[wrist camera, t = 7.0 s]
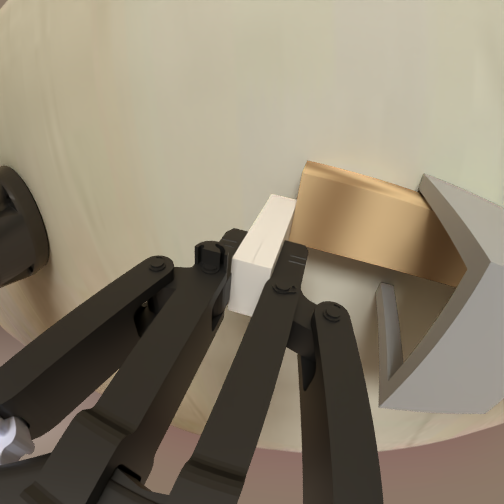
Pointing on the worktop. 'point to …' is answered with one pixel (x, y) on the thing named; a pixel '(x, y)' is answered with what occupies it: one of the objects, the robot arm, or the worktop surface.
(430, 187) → the tunnel
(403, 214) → the tan long bar
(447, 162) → the worktop surface
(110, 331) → the robot arm
